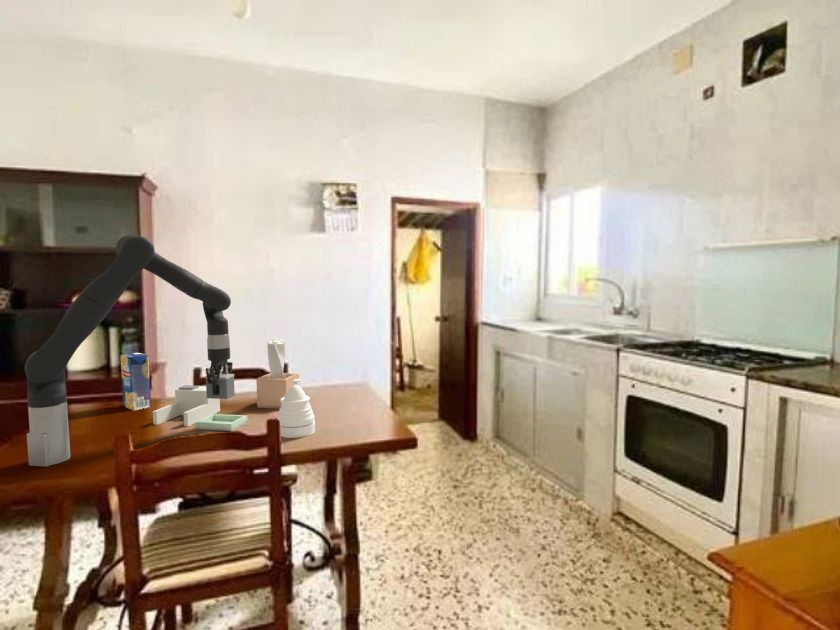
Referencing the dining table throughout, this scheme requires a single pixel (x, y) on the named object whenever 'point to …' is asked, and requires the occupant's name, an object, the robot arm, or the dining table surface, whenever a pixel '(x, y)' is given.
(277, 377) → the skyscraper
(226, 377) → the grey gripped cube
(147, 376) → the beverage box
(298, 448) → the dining table surface
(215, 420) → the tray
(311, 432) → the honey pot
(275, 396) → the open tan box
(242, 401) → the dining table surface
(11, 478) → the dining table surface
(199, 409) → the white dispenser chute
